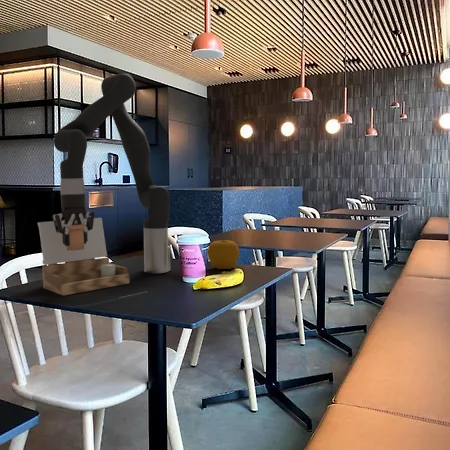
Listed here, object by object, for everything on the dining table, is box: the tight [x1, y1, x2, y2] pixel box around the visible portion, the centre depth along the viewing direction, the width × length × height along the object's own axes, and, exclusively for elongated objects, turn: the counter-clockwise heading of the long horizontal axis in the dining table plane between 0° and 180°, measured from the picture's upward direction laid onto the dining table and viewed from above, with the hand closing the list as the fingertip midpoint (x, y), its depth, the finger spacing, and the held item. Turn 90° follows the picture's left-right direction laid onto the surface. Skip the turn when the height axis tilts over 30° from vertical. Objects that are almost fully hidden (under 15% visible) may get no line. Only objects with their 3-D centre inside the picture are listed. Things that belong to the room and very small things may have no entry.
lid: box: [37, 217, 108, 266], centre depth 170 cm, size 23×14×1 cm
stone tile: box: [116, 291, 148, 299], centre depth 159 cm, size 11×11×1 cm
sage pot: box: [101, 263, 116, 278], centre depth 169 cm, size 5×5×6 cm
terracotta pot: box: [65, 220, 85, 251], centre depth 161 cm, size 6×6×10 cm
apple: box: [207, 239, 240, 270], centre depth 198 cm, size 13×13×11 cm
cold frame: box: [41, 257, 131, 296], centre depth 166 cm, size 24×18×18 cm
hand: (75, 244), depth 161 cm, fingers closed on terracotta pot, 5 cm apart
